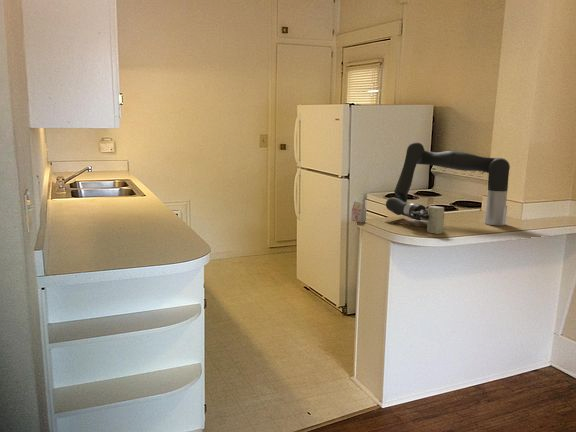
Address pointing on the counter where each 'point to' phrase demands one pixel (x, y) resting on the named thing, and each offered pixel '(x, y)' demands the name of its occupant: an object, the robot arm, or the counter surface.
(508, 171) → the robot arm
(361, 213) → the pink printed carton
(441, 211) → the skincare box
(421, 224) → the dock board
